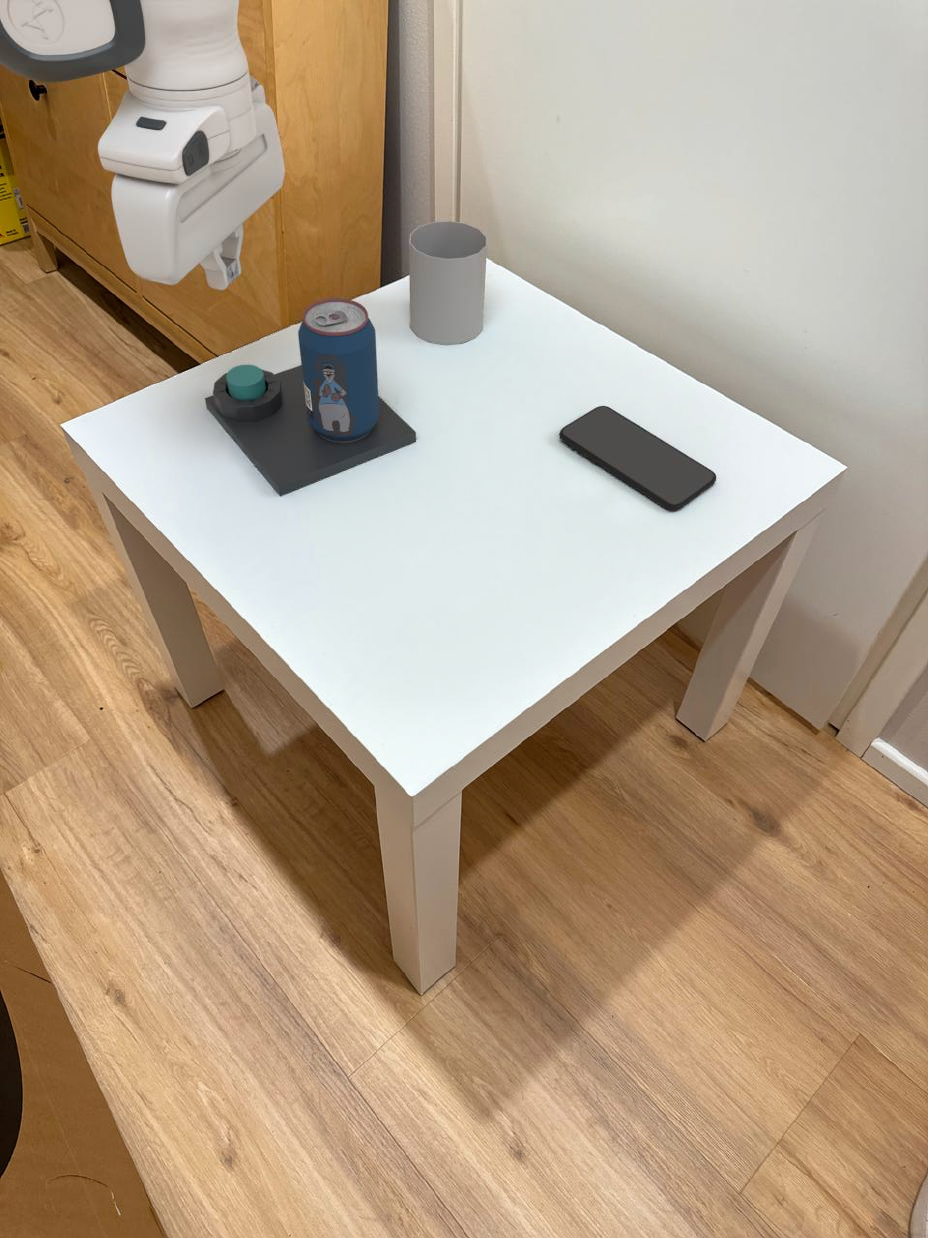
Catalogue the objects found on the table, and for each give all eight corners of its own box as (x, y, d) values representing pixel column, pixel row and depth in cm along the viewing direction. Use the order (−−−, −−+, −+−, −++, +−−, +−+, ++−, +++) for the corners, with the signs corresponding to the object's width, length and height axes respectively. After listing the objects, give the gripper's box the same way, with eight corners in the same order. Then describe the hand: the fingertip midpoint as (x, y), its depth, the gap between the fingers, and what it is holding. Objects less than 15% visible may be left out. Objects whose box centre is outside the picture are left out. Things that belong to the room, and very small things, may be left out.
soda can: (364, 397, 92) (358, 288, 83) (390, 437, 88) (386, 326, 79) (299, 413, 90) (285, 302, 81) (322, 454, 86) (310, 343, 77)
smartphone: (675, 510, 84) (554, 431, 90) (673, 517, 84) (553, 438, 91) (722, 474, 87) (602, 401, 94) (719, 482, 88) (601, 408, 94)
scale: (280, 496, 84) (276, 471, 82) (205, 406, 93) (200, 381, 90) (416, 441, 90) (416, 416, 88) (334, 361, 99) (332, 337, 96)
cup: (399, 312, 105) (397, 228, 98) (463, 298, 108) (466, 215, 100) (428, 351, 100) (428, 265, 93) (495, 335, 103) (500, 251, 95)
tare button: (238, 405, 89) (236, 389, 87) (222, 386, 91) (219, 371, 89) (272, 393, 90) (270, 378, 89) (255, 375, 92) (253, 360, 91)
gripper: (224, 61, 76) (248, 223, 87) (82, 155, 64) (130, 332, 74) (292, 72, 75) (308, 235, 86) (162, 170, 62) (199, 348, 73)
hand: (225, 281), depth 80 cm, fingers closed
